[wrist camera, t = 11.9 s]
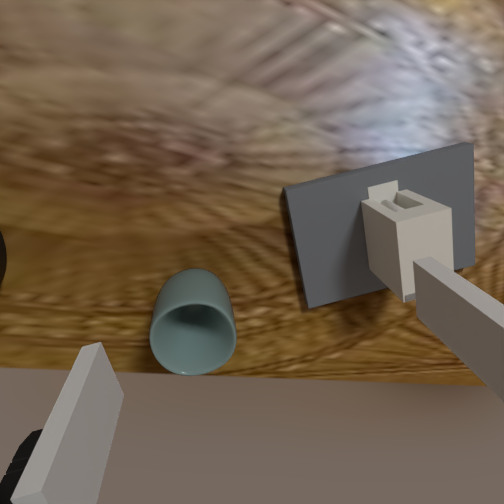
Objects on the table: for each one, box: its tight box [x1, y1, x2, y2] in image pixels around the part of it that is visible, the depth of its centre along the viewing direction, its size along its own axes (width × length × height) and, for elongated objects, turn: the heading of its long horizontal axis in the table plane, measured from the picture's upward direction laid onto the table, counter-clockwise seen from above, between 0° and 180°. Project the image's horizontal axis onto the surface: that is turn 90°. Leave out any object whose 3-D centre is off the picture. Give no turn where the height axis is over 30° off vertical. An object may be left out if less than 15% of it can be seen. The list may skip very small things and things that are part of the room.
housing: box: [361, 189, 454, 302], centre depth 40 cm, size 5×8×8 cm, turn 13°
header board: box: [283, 142, 475, 308], centre depth 42 cm, size 20×14×6 cm
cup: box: [149, 268, 237, 376], centre depth 40 cm, size 8×8×10 cm
